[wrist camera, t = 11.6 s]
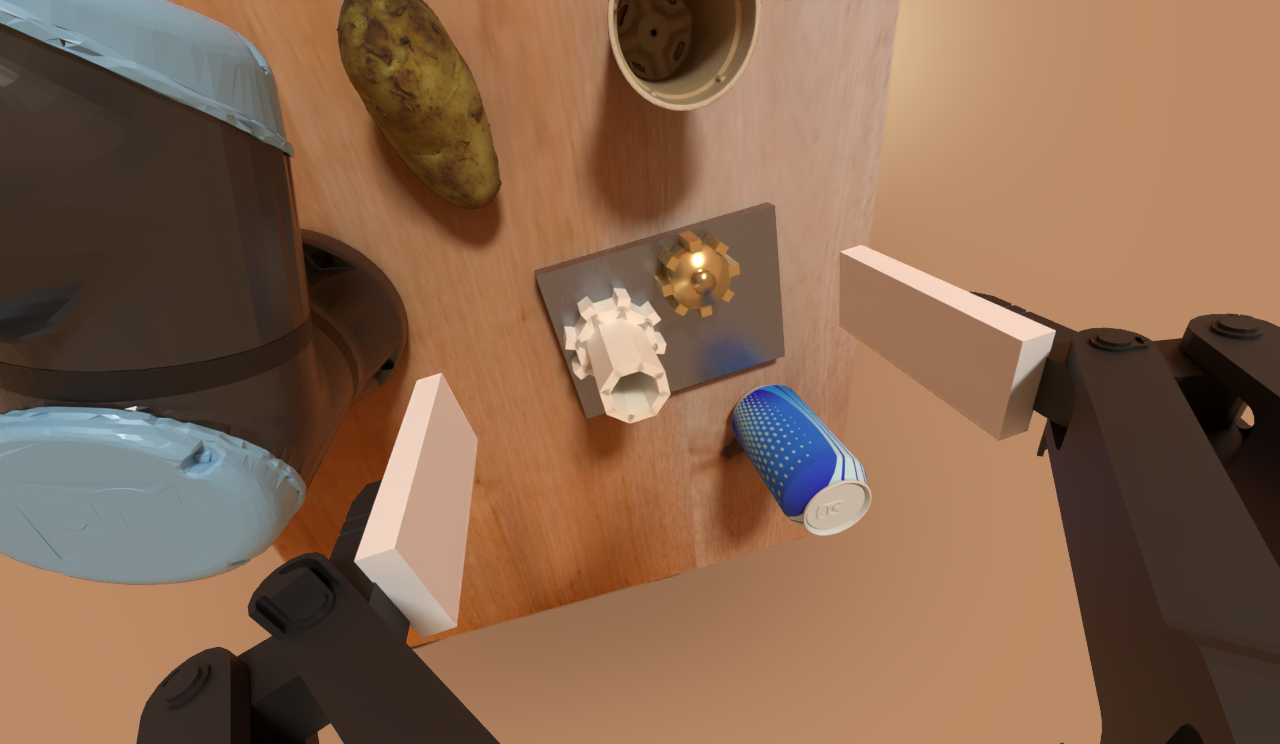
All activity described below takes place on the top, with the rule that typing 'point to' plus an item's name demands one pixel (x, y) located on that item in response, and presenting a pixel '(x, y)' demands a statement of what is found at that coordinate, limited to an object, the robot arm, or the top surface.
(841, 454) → the beer can
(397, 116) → the potato
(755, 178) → the top surface
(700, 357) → the plate
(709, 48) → the flower pot
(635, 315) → the planet gear
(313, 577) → the robot arm
